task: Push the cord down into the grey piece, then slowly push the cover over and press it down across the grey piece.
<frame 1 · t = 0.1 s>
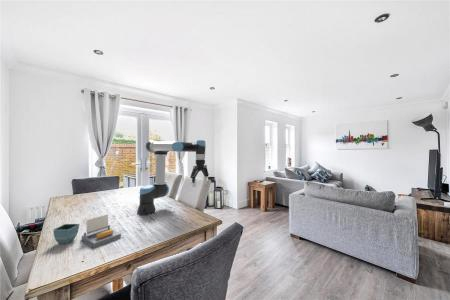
hand: (199, 185, 148), 28 cm above the table, fingers open, 13 cm apart
grey piece: (101, 238, 114), on the table
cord: (104, 236, 112), point 2 cm above the table, touching grey piece
flower pot: (66, 242, 109), on the table
cover: (97, 223, 117), point 8 cm above the table, hinge at 97.0°
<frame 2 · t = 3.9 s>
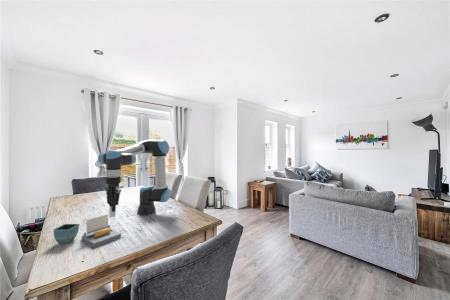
hand: (112, 216, 108), 16 cm above the table, fingers closed
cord: (103, 231, 113), point 5 cm above the table, tilted 126°, touching grey piece
everything else where it was.
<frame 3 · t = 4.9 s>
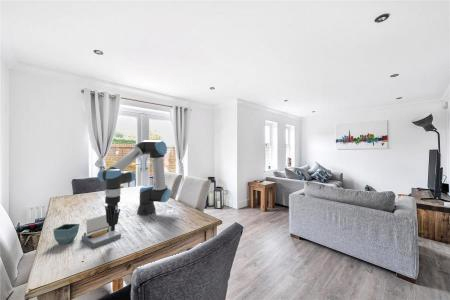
hand: (111, 236, 107), 5 cm above the table, fingers closed
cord: (98, 235, 116), point 1 cm above the table, tilted 53°, touching grey piece
everything else where it was.
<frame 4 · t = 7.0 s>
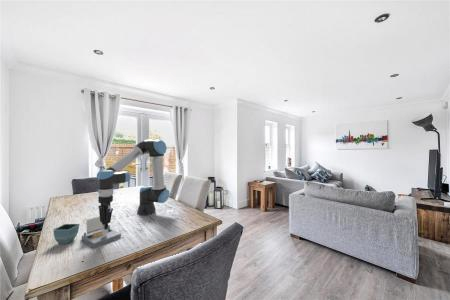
hand: (104, 234, 112), 4 cm above the table, fingers closed
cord: (99, 233, 116), point 3 cm above the table, tilted 116°, touching grey piece
everything else where it was.
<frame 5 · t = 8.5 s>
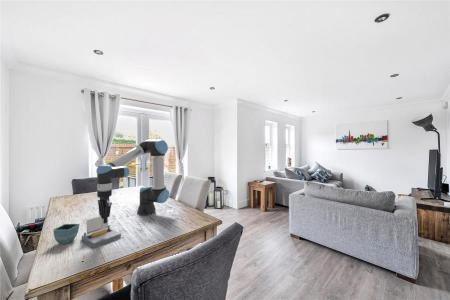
hand: (104, 227, 113), 7 cm above the table, fingers closed
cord: (98, 235, 116), point 1 cm above the table, tilted 45°, touching grey piece
everything else where it was.
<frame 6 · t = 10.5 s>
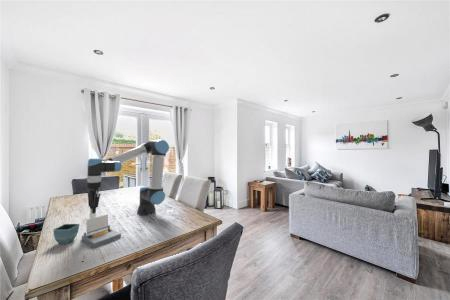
hand: (92, 217, 120), 10 cm above the table, fingers closed
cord: (99, 233, 116), point 3 cm above the table, tilted 115°, touching grey piece
everything else where it was.
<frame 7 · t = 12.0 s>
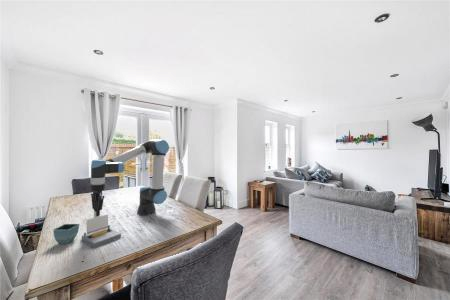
hand: (96, 220, 118), 10 cm above the table, fingers closed
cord: (98, 234, 116), point 1 cm above the table, tilted 54°, touching grey piece
cover: (97, 223, 117), point 8 cm above the table, hinge at 96.9°, touching gripper
everything else where it was.
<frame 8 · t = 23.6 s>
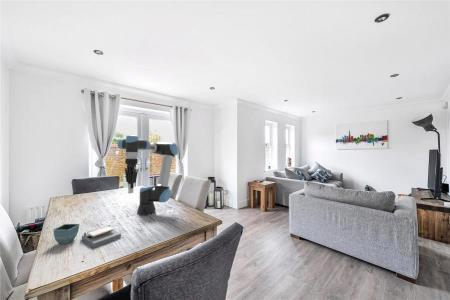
hand: (130, 193, 124), 26 cm above the table, fingers closed
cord: (98, 234, 116), point 1 cm above the table, tilted 71°, touching grey piece
cover: (100, 230, 115), point 4 cm above the table, hinge at 3.0°
everything else where it was.
at the end: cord inside the target area on the grey piece (1.8 cm from its centre), point 1.4 cm above the grey piece's base; cover at +3° (first picture: +97°) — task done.
